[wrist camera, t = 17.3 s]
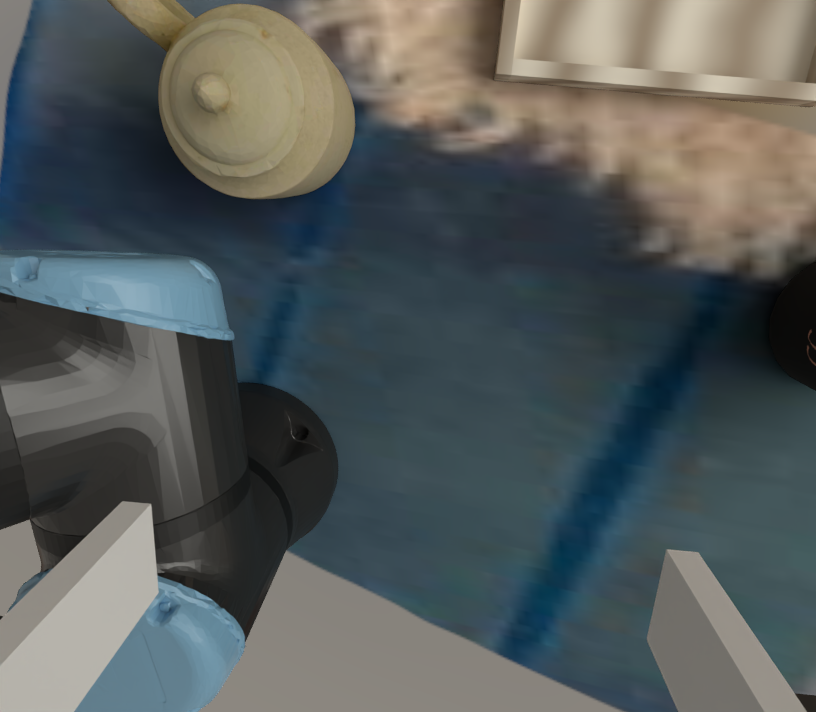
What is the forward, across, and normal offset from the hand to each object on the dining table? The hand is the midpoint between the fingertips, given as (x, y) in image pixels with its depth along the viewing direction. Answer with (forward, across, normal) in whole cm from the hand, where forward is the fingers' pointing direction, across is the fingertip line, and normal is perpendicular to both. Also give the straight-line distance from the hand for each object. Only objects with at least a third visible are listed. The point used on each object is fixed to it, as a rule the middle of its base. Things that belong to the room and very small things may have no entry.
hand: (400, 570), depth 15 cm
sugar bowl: (+33, -14, +14) cm, 38 cm away
